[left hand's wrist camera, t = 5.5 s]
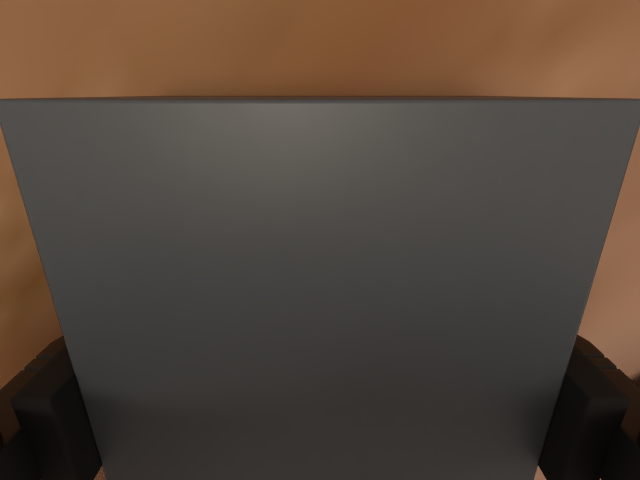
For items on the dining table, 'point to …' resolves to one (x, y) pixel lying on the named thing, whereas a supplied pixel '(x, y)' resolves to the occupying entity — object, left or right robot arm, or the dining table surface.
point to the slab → (320, 275)
